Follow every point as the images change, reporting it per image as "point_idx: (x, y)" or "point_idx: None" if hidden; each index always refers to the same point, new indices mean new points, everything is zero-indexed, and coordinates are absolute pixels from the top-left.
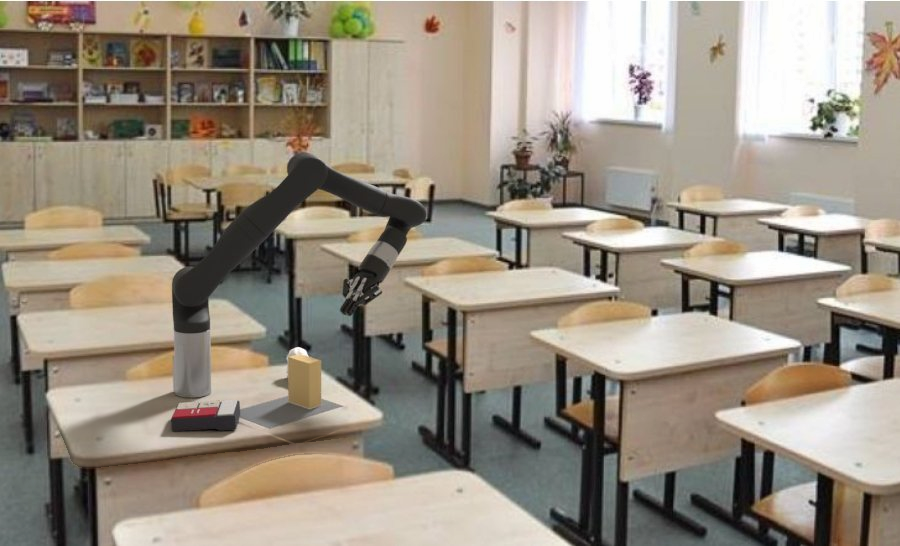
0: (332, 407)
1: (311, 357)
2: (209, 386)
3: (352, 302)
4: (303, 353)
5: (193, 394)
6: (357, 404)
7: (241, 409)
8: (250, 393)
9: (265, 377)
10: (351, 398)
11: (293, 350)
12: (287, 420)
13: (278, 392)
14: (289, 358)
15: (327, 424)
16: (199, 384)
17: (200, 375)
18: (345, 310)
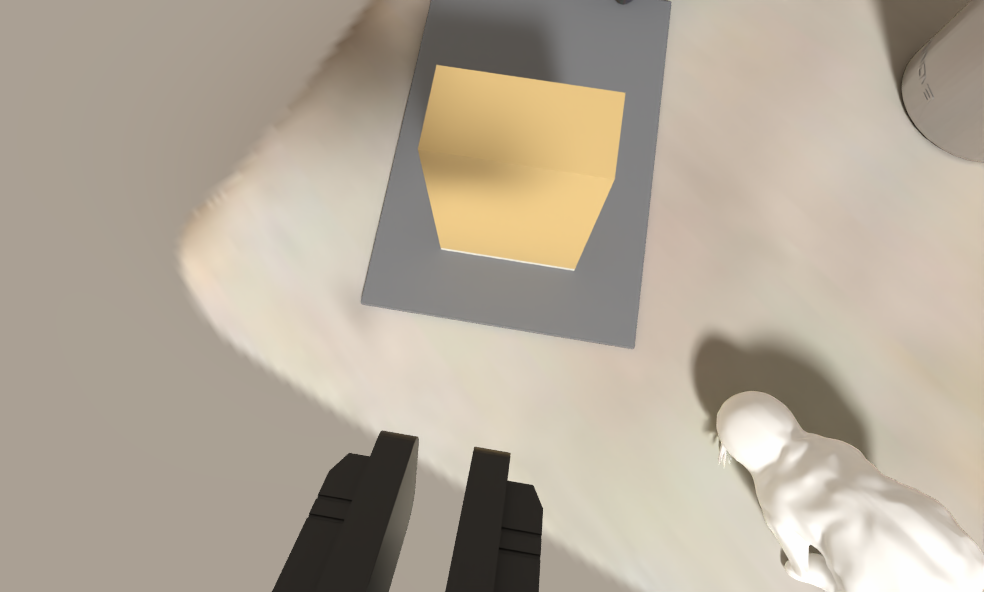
0: (387, 259)
1: (509, 163)
2: (932, 101)
3: (325, 571)
4: (868, 553)
5: (922, 47)
6: (333, 374)
7: (661, 49)
8: (801, 222)
9: (946, 443)
10: (404, 429)
11: (935, 523)
12: (441, 54)
13: (722, 301)
14: (614, 95)
15: (302, 117)
16: (940, 37)
17: (969, 13)
18: (405, 440)
